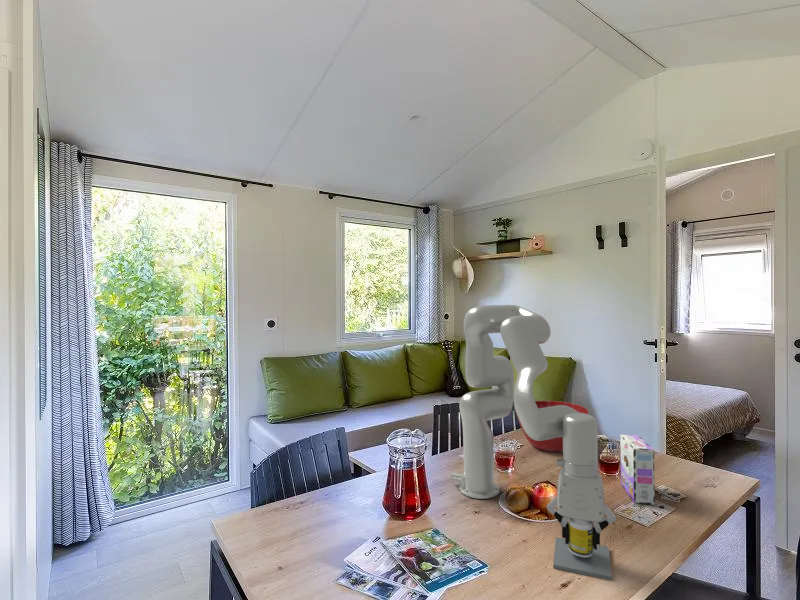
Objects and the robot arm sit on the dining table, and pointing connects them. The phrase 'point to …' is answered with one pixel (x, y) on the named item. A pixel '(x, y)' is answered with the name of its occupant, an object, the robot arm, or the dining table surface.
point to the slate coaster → (582, 561)
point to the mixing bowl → (553, 443)
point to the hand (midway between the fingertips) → (580, 543)
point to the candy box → (637, 469)
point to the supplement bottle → (580, 537)
